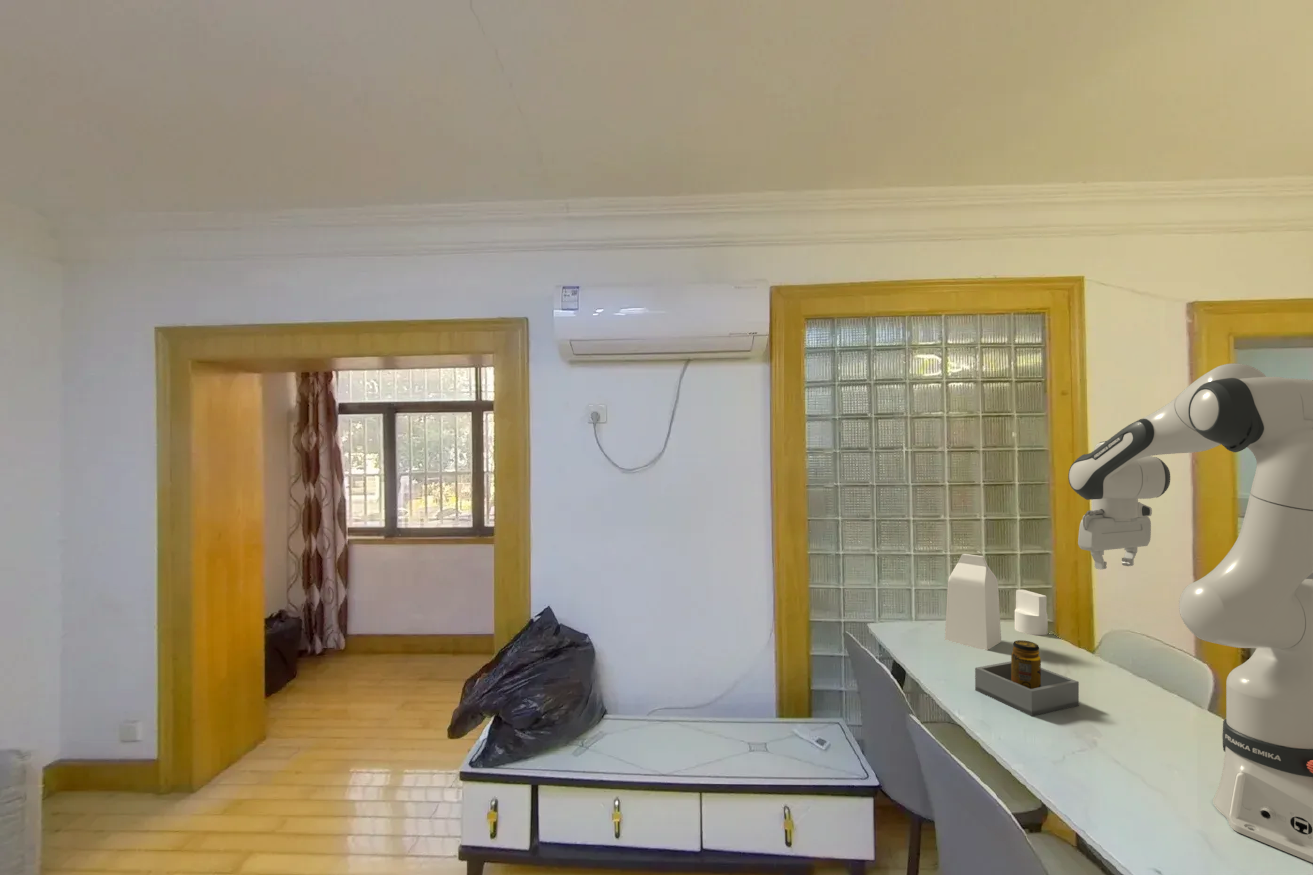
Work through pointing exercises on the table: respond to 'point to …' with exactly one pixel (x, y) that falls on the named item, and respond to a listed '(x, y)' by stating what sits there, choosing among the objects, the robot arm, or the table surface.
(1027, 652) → the condiment
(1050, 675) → the box
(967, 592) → the milk
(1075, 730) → the table surface
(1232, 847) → the table surface
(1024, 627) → the base with upright slab
